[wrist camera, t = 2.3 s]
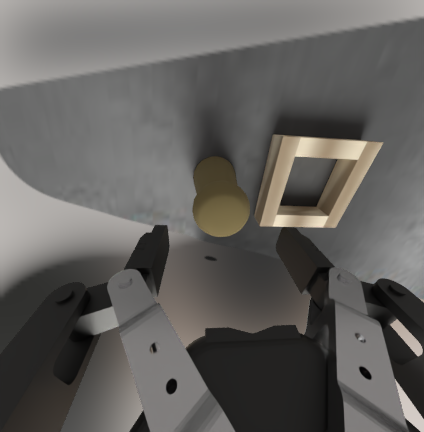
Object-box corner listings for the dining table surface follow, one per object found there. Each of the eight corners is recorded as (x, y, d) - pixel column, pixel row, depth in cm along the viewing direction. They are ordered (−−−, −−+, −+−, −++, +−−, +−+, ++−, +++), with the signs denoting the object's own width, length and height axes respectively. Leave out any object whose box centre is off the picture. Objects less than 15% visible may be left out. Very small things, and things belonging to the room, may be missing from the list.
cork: (193, 155, 21) (185, 183, 11) (238, 157, 21) (267, 186, 12) (193, 197, 24) (187, 246, 14) (232, 198, 24) (252, 247, 15)
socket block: (360, 140, 21) (383, 142, 18) (322, 217, 27) (335, 227, 24) (272, 134, 20) (283, 136, 17) (254, 215, 26) (259, 226, 23)
